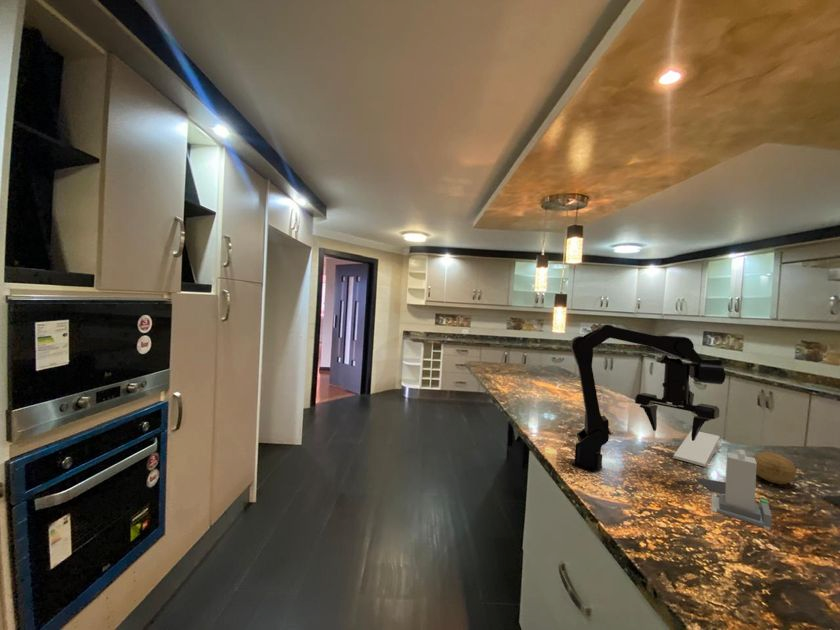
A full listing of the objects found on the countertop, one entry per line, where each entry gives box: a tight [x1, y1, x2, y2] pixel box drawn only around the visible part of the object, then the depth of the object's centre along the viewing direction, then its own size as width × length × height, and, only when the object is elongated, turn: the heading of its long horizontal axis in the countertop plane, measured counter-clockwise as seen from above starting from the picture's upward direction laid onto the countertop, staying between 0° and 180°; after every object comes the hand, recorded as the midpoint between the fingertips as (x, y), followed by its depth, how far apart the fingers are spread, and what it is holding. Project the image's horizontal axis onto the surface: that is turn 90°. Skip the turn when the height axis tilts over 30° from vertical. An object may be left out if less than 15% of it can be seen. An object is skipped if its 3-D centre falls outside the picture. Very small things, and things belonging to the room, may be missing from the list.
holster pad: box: [693, 476, 726, 495], centre depth 98 cm, size 9×9×1 cm
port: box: [710, 493, 773, 531], centre depth 85 cm, size 10×11×3 cm
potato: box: [752, 451, 797, 485], centre depth 105 cm, size 10×14×8 cm
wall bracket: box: [672, 429, 722, 468], centre depth 124 cm, size 10×7×28 cm
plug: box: [719, 449, 760, 521], centre depth 85 cm, size 7×7×14 cm
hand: (673, 435), depth 100 cm, fingers open, 9 cm apart
